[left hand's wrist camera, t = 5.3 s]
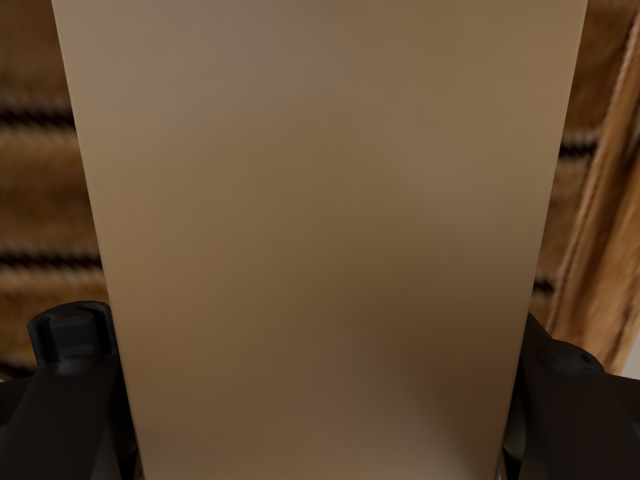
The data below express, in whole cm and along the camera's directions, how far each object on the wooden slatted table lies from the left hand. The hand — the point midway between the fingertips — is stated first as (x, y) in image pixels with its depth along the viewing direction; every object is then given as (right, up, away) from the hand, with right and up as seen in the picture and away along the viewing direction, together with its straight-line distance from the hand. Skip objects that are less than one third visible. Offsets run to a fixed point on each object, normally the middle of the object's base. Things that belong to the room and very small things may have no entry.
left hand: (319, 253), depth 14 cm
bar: (0, +7, -2) cm, 7 cm away
